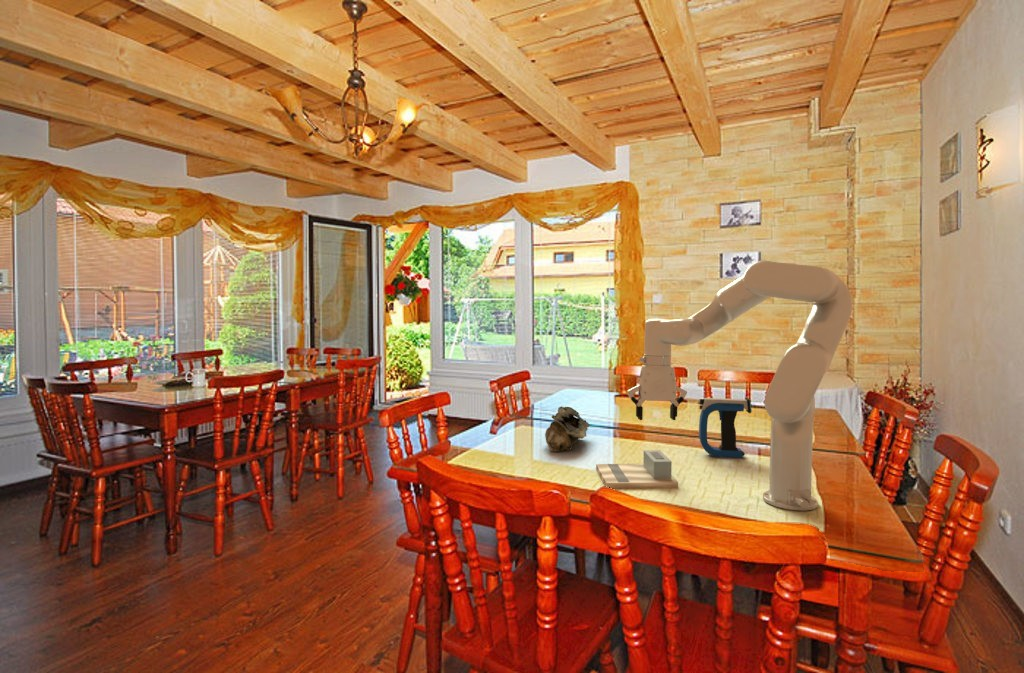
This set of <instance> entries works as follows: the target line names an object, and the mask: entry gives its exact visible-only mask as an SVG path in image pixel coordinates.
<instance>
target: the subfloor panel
mask: <svg viewBox="0 0 1024 673" xmlns="http://www.w3.org/2000/svg"><path fill="white" fill-rule="evenodd" d="M595 469H596V471H597V474H598V475H599V476H600V479H601V482H603V484H604V486H607V487H610V488H609V489H645V488H646V489H652V488H653V489H657V488H658V489H659V488H661V489H662V488H663V489H667V488H669V489H670V488H673V489H674V488H675V489H676V488H677V489H678V488H679V482H678V480H677V479H676V477H674V476H673V474H671V479H653V477H652V476H651V475H650V474H649V473H648V471H647V470H646V469H645V468H644V467H643V463H596V464H595Z"/></svg>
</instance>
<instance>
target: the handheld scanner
mask: <svg viewBox="0 0 1024 673" xmlns="http://www.w3.org/2000/svg"><path fill="white" fill-rule="evenodd" d="M751 402H752V401H751V399H750V398H749V397H745V398H742V399H741V398H717V397H714V398H713V397H704V398H700V399H699V410H701V411H700V415H699V421H698V423H699V424H698V436H699V437H698V438H699V441H700V442H699V443H700V444H701V446H702V448H703V450H704V451H705V452H706V453H707V454H708V455H710V456H711V457H715V458H725V459H726V458H727V459H728V458H731V459H743V458H744V457H745V455H746V454H745V451H744V450H742V449H741V448H739V447H737V431H736V427H735V420H736V418H737V414H738V412H744V411H746V412H747V413H748V414H752V412H753V410H752V403H751ZM713 412H718V416H719V421H720V445H719V447H718V446H713V445H710V443H709V442H708V422H709V420H708V419H709V416H710V415H711V414H712V413H713Z"/></svg>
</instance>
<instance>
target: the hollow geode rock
mask: <svg viewBox="0 0 1024 673" xmlns="http://www.w3.org/2000/svg"><path fill="white" fill-rule="evenodd" d="M551 418H552V420H554V421H551V423H550V425H549V426H548V428H546V430H545V433H544V437H545V443H546V444H547V446H548V448H549V451H550V452H552V453H553V452H556V453H557V452H563V451H564V452H565V451H567V452H570V451H571V450H572V448H573V446H574V445H575V443H576V442H578V440H580V439H582V440H583V439H585V437H587V431H588V428H589V427H590V424H589V422H588V421H587V420H586V419H583V418H582V417H581V416H580V413H579V412H578V411H577V410H575V409H574V408H572V407H571V406H559V407H558V409H557V413H556V414H555V415H554V414H552V415H551Z"/></svg>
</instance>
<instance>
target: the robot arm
mask: <svg viewBox="0 0 1024 673" xmlns="http://www.w3.org/2000/svg"><path fill="white" fill-rule="evenodd" d="M770 298H776V299H784V300H790V301H791V300H792V301H797V302H798V301H800V302H806V303H811V311H810V313H809V315H808V317H807V319H806V321H805V323H804V326H803V329H802V331H801V333H800V335H799V337H798V339H797V341H796V343H795V344H793V345H791V346H790V347H789V348H787V350H786V351H785V353H784V354H783V356H782V357H781V360H780V362H779V364H778V367H777V368H776V371H775V372H774V375H773V378H772V379H771V381H770V384H769V387H768V388H767V391H766V393H765V395H764V403H763V404H764V408H765V411H766V413H767V414H768V415H769V417H770V418H771V423H770V424H771V425H770V441H769V442H770V447H769V448H770V452H769V489H768V490H766V491H764V492H763V493H762V499H763V501H764V502H765V503H767V504H769V505H771V506H773V507H777V508H779V509H784V510H789V511H801V512H802V511H811V510H815V509H817V508H818V507H819V501H818V500H817V498H816V497H814V496H812V479H813V478H812V476H813V475H812V472H813V471H812V470H813V467H812V466H813V441H814V440H813V439H814V436H813V435H814V419H815V411H816V410H815V408H816V398H815V395H816V393H817V390H818V388H819V387H820V384H821V382H822V380H823V378H824V375H825V374H827V372H828V371H829V369H830V368H831V365H832V361H833V359H834V356H835V353H836V351H837V350H838V347H839V345H840V342H841V341H842V338H843V335H844V333H845V332H846V329H847V326H848V325H849V321H850V320H851V319H850V318H851V316H852V312H853V311H852V310H853V298H852V295H851V292H850V289H849V288H848V285H847V284H846V283H845V282H844V281H843V280H842V278H840V277H839V276H838V274H836V273H835V272H834V271H832V270H830V269H828V268H826V267H822V266H817V265H807V264H797V263H788V262H787V263H786V262H777V261H771V260H758V261H755V262H753V263H751V264H750V265H749V266H748V267H747V268H746V270H745V271H744V274H743V275H742V276H740V277H738V278H736V280H733V282H731V283H729V284H727V285H726V286H724V287H723V288H721V289H719V291H717V292H716V293H715V296H714V298H713V299H712V301H711V302H710V303H709V304H708V305H707V306H705V307H704V308H702V309H701V310H699V311H698V312H696V313H694V314H693V315H691V316H690V317H686V318H685V317H684V318H678V319H676V318H675V319H666V318H649V319H647V320H645V323H644V350H643V353H644V354H643V356H641V357H639V358H638V360H639V362H640V363H642V365H641V370H640V374H639V382H638V385H636V386H633V387H632V388H630V389H628V390H627V391H626V393H627V396H628V397H629V400H630V401H631V402H632V403H634V404H635V416H636V417H637V419H638V420H639V421H642V420H643V417H644V416H643V412H644V411H643V409H644V407H643V406H642V405H643V403H645V401H648V402H650V401H651V402H652V401H653V402H670V403H671V404H670V407H669V412H670V413H669V419H671V420H672V421H676V418H677V417H678V407H680V404H681V403H682V402H683V401H684V400H685V398H686V396H687V394H688V392H687V390H685V389H683V388H681V387H679V386H678V385H677V380H676V372H675V371H676V370H675V366H673V365H672V345H673V346H679V347H684V346H687V345H692V344H697V343H699V342H702V340H704V339H706V338H708V337H710V336H711V335H712V334H714V333H716V332H717V331H719V330H720V329H722V328H723V327H725V326H726V325H728V324H730V323H731V322H733V321H734V320H735V321H736V319H737V318H738V317H740V316H742V315H744V314H745V313H746V312H749V311H750V310H751V309H753V308H754V307H757V306H758V305H760V304H761V303H763V302H765V301H767V300H768V299H770ZM637 392H638V398H636V397H635V395H634V394H635V393H637ZM677 392H678V393H679V396H677Z"/></svg>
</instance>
